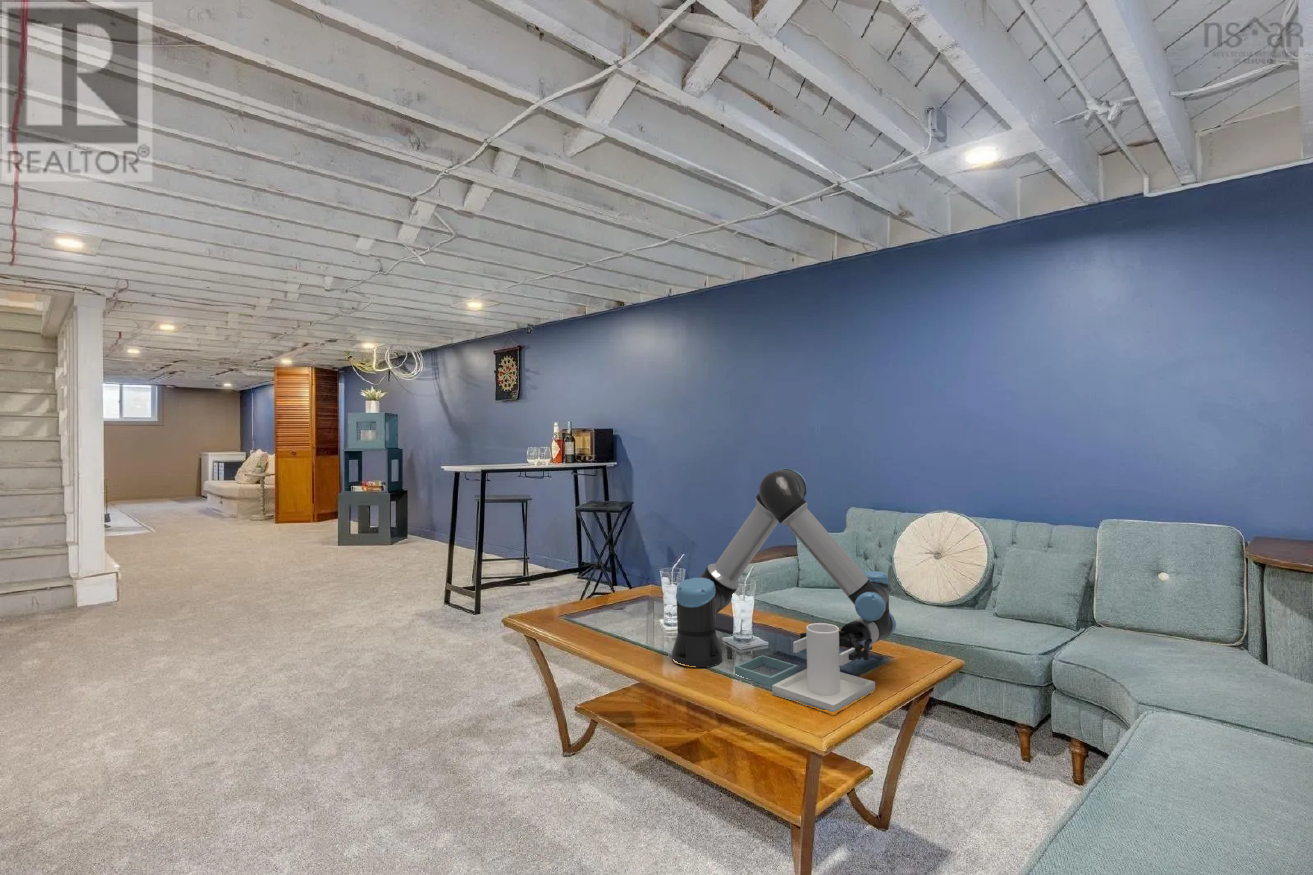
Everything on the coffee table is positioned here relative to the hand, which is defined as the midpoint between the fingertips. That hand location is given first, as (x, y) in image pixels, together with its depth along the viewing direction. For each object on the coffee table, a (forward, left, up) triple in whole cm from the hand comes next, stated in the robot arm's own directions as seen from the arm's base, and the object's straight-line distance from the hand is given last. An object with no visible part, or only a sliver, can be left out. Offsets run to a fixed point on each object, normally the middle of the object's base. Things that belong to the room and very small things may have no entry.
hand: (816, 653), depth 164 cm
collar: (-11, +15, -11) cm, 22 cm away
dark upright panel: (-20, +63, -12) cm, 67 cm away
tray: (+2, +2, -11) cm, 11 cm away
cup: (+2, +2, -10) cm, 11 cm away
